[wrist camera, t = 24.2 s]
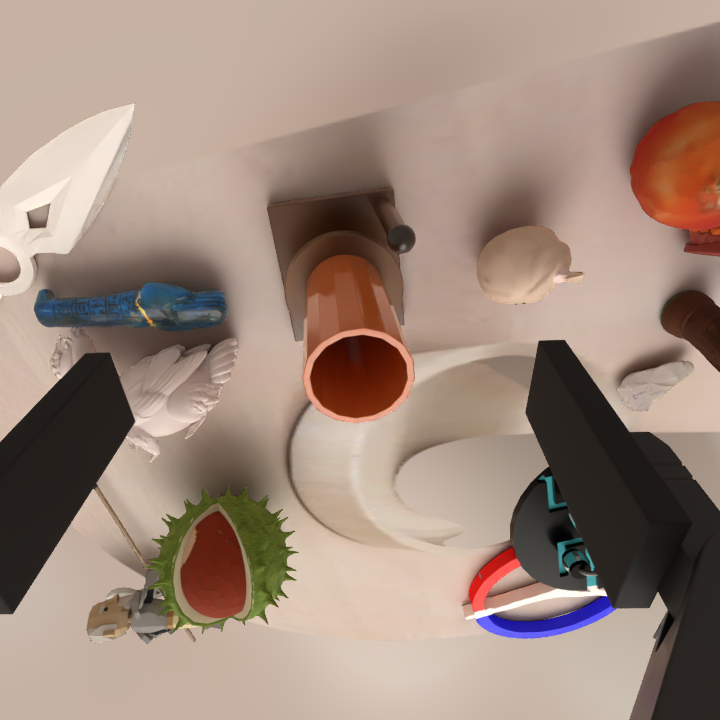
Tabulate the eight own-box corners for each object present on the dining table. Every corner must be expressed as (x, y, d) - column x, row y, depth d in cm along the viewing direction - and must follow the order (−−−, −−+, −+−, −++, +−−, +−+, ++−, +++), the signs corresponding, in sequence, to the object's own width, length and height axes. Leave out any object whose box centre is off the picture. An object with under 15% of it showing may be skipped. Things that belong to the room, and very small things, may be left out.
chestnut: (321, 646, 45) (149, 703, 40) (289, 575, 58) (158, 611, 53) (305, 491, 44) (126, 529, 39) (276, 455, 57) (140, 480, 52)
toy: (226, 454, 53) (79, 452, 50) (221, 484, 48) (58, 484, 45) (222, 635, 64) (101, 643, 61) (218, 675, 59) (86, 685, 56)
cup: (380, 248, 34) (410, 320, 24) (387, 322, 38) (417, 413, 27) (298, 260, 34) (293, 338, 24) (312, 333, 37) (313, 429, 27)
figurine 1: (58, 316, 42) (233, 309, 43) (44, 347, 39) (231, 338, 41) (33, 272, 38) (225, 266, 40) (16, 304, 36) (222, 296, 37)
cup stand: (391, 186, 38) (418, 221, 29) (402, 319, 44) (427, 384, 35) (267, 203, 38) (254, 245, 28) (295, 335, 44) (292, 405, 35)
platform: (688, 423, 55) (733, 455, 49) (679, 563, 63) (717, 605, 57) (501, 466, 55) (523, 504, 49) (517, 600, 63) (538, 645, 57)
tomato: (611, 118, 37) (680, 127, 30) (730, 82, 36) (828, 82, 29) (610, 232, 42) (670, 263, 35) (716, 202, 41) (797, 226, 34)
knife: (-106, 323, 40) (-113, 327, 39) (99, 64, 32) (94, 64, 32) (-33, 367, 42) (-39, 372, 42) (171, 137, 35) (169, 138, 34)
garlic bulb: (522, 295, 44) (561, 334, 37) (459, 279, 43) (487, 317, 36) (555, 226, 41) (604, 255, 34) (488, 206, 40) (526, 232, 33)
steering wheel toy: (639, 599, 72) (645, 610, 70) (479, 644, 74) (482, 655, 73) (631, 508, 61) (638, 518, 59) (444, 564, 63) (447, 576, 62)
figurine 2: (144, 454, 47) (38, 360, 43) (262, 356, 46) (166, 252, 42) (121, 497, 39) (-11, 387, 35) (262, 380, 39) (145, 256, 35)
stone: (607, 382, 50) (618, 394, 48) (675, 340, 48) (689, 351, 46) (625, 409, 53) (636, 421, 51) (690, 371, 51) (703, 382, 49)
